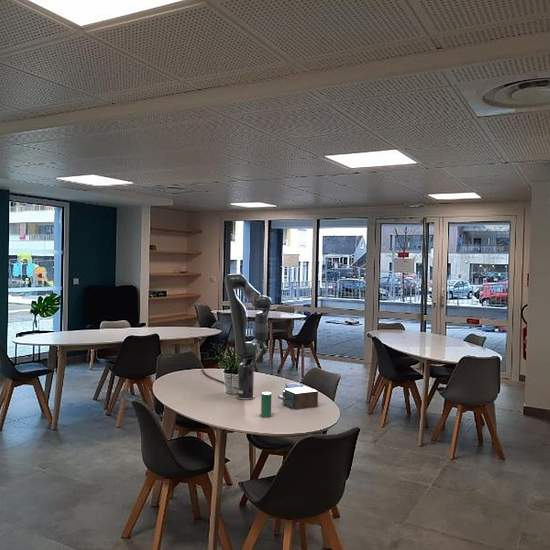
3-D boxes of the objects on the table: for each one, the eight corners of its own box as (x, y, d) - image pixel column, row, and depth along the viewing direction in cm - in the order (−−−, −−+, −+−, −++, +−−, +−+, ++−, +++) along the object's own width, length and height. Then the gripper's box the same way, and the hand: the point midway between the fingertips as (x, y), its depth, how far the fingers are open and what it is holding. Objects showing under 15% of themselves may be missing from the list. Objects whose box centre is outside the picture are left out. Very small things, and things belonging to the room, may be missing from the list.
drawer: (285, 408, 293) (286, 395, 293) (276, 403, 304) (276, 391, 304) (313, 405, 301) (313, 393, 301) (303, 400, 312) (303, 388, 312)
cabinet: (294, 409, 295) (295, 393, 295) (284, 404, 307) (284, 388, 307) (317, 406, 302) (318, 391, 302) (306, 401, 313) (306, 386, 313)
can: (259, 415, 282) (259, 392, 282) (268, 414, 284) (268, 391, 284) (263, 417, 277) (264, 394, 277) (272, 416, 280) (273, 393, 280)
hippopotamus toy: (309, 397, 323) (310, 381, 323) (290, 400, 314) (290, 384, 314) (298, 394, 332) (298, 378, 332) (279, 397, 323) (279, 381, 323)
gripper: (272, 332, 297) (271, 363, 297) (262, 329, 309) (261, 359, 309) (260, 332, 293) (259, 364, 294) (250, 330, 305) (249, 360, 305)
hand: (260, 361), depth 301 cm, fingers closed
